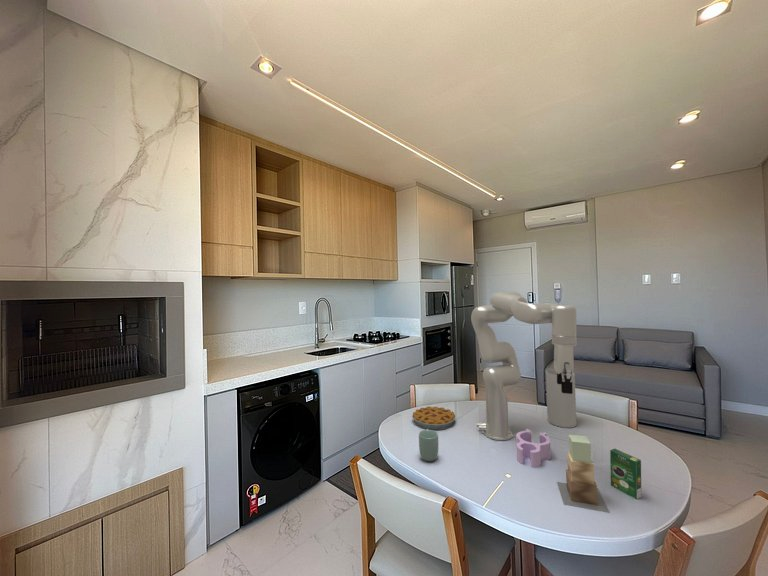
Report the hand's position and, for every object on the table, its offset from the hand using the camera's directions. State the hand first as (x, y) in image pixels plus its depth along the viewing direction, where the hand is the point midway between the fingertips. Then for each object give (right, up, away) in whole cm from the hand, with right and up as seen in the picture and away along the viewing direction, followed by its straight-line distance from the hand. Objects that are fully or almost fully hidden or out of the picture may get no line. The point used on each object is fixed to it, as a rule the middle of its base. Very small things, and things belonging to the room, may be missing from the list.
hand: (564, 388), depth 110 cm
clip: (-4, -33, +15) cm, 36 cm away
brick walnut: (-1, -31, -11) cm, 32 cm away
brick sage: (-1, -19, -11) cm, 21 cm away
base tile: (-1, -32, -11) cm, 34 cm away
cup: (-45, -34, +16) cm, 59 cm away
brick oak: (-1, -25, -11) cm, 27 cm away
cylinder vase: (+25, -32, +45) cm, 61 cm away
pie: (-38, -34, +51) cm, 72 cm away
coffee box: (+15, -32, -9) cm, 36 cm away
